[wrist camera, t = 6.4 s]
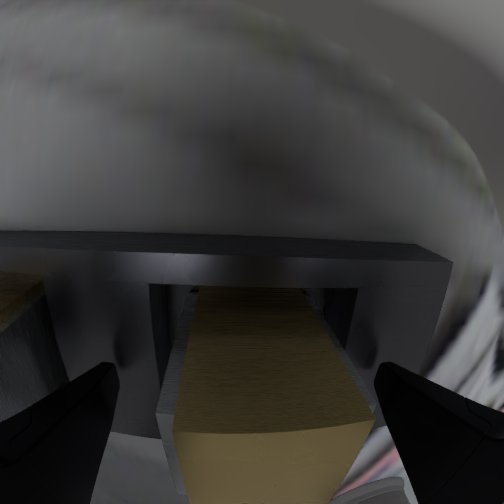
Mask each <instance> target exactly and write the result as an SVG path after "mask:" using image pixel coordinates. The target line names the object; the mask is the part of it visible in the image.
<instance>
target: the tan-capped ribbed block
mask: <svg viewBox="0 0 504 504" xmlns="http://www.w3.org/2000/svg"><path fill="white" fill-rule="evenodd" d="M66 375H67V372H66V369H65V365H64V362H63V359H62V356H61V353H60V349H59V346H58V342H57V339H56V335H55V331H54V327H53V324H52V319H51V315H50V311H49V306H48V301H47V297H46V291H45V286H44V280H43V275H34V274H24V273H15V272H5V271H0V422H2V421H4V420H6V419H8V418H10V417H12V416H14V415H15V414H17V413H19V412H21V411H22V410H24V409H26V408H27V407H29V406H32V404H34V403H36V402H37V401H39V400H41V399H42V398H44V397H46V396H47V395H49V394H51V393H52V392H54V391H56V390H57V389H58V387H59V386H60V384H61V383H62V381H63V380H64V378H65V376H66Z"/></svg>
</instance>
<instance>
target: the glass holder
mask: <svg viewBox="0 0 504 504" xmlns="http://www.w3.org/2000/svg"><path fill="white" fill-rule="evenodd" d="M329 504H410V503H409V501H408V499H407V497H406V495H405V493H404V480H403V479H402V478H400V477H391V478H385V479H381V480H378V481H374V482H371V483H368V484H365V485H363V486H360V487H358V488H355V489H353V490H350V491H348V492H346V493H344V494H342V495H340V496H338V497H336V498H334V499H332V500H331V501H330V502H329Z"/></svg>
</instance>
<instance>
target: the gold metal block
mask: <svg viewBox="0 0 504 504" xmlns="http://www.w3.org/2000/svg"><path fill="white" fill-rule="evenodd" d="M376 406H377V403H376V402H375V400H374V398H373V397H372V395H371V393H370V392H369V390H368V388H367V387H366V385H365V383H364V382H363V380H362V378H361V377H360V375H359V373H358V372H357V370H356V368H355V367H354V365H353V364H352V362H351V360H350V359H349V357H348V355H347V354H346V352H345V351H344V349H343V347H342V346H341V344H340V342H339V341H338V339H337V338H336V336H335V334H334V333H333V331H332V330H331V328H330V326H329V325H328V323H327V322H326V320H325V318H324V317H323V315H322V314H321V312H320V310H319V309H318V307H317V306H316V304H315V303H314V301H313V299H312V298H311V296H310V295H309V294H304V293H303V292H302V290H301V288H270V287H228V286H200V288H199V292H188V295H187V298H186V301H185V305H184V308H183V312H182V315H181V319H180V322H179V326H178V329H177V333H176V336H175V340H174V343H173V347H172V351H171V354H170V358H169V362H168V366H167V369H166V373H165V377H164V381H163V385H162V389H161V393H160V397H159V401H158V405H157V409H156V418H157V422H158V426H159V430H160V434H161V438H162V442H163V446H164V450H165V453H166V457H167V460H168V464H169V467H170V471H171V474H172V477H173V480H174V483H175V486H176V490H177V493H178V495H188V499H189V502H190V504H329V502H330V501H331V499H332V498H333V496H334V494H335V493H336V491H337V490H338V488H339V487H340V485H341V483H342V482H343V480H344V478H345V477H346V475H347V473H348V472H349V470H350V468H351V466H352V465H353V463H354V461H355V459H356V458H357V456H358V454H359V452H360V450H361V448H362V446H363V444H364V443H365V441H366V439H367V437H368V435H369V433H370V431H371V428H372V426H373V424H374V422H375V420H376V418H375V416H374V414H373V413H374V410H375V408H376Z"/></svg>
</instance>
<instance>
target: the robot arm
mask: <svg viewBox="0 0 504 504" xmlns="http://www.w3.org/2000/svg"><path fill="white" fill-rule="evenodd" d="M374 388H375V391H376V395H377V398H378V401H379V404H380V407H381V411H382V414H383V417H384V420H385V422H386V425H387V427H388V429H389V432H390V434H391V436H392V439H393V441H394V443H395V446H396V448H397V451H398V453H399V455H400V458H401V460H402V463H403V465H404V468H405V470H406V473H407V475H408V478H409V480H410V483H411V485H412V488H413V491H414V493H415V495H416V498H417V501H418V504H504V412H501V411H498V410H495V409H492V408H489V407H487V406H484V405H482V404H479V403H477V402H475V401H472V400H470V399H468V398H466V397H465V398H464V396H462V395H459V394H457V393H455V392H453V391H451V390H449V389H447V388H445V387H442V386H440V385H438V384H436V383H434V382H432V381H430V380H428V379H426V378H424V377H422V376H420V375H418V374H416V373H414V372H411V371H409V370H407V369H405V368H403V367H401V366H399V365H397V364H395V363H393V362H391V361H389V362H382V363H381V364H380V365H379V367H378V370H377V373H376V376H375V378H374ZM119 389H120V381H119V377H118V373H117V369H116V365H115V364H114V363H112V362H101V363H100V364H98V365H96V366H95V367H93V368H92V369H90V370H88V371H87V372H85V373H83V374H82V375H80V376H79V377H77V378H75V379H74V380H72V381H70V382H69V383H67V384H65V385H64V386H62V387H61V388H59V389H57V390H56V391H54V392H52V393H51V394H49V395H47V396H46V397H44V398H42V399H41V400H39V401H37V402H36V403H34V404H32V406H29V407H27V408H26V409H24V410H22V411H21V412H19V413H17V414H15V415H14V416H12V417H10V418H8V419H6V420H4V421H2V422H0V504H90V501H91V497H92V493H93V489H94V485H95V482H96V478H97V474H98V471H99V467H100V464H101V460H102V457H103V453H104V450H105V447H106V443H107V440H108V437H109V434H110V431H111V427H112V423H113V419H114V414H115V408H116V403H117V398H118V394H119Z"/></svg>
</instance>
